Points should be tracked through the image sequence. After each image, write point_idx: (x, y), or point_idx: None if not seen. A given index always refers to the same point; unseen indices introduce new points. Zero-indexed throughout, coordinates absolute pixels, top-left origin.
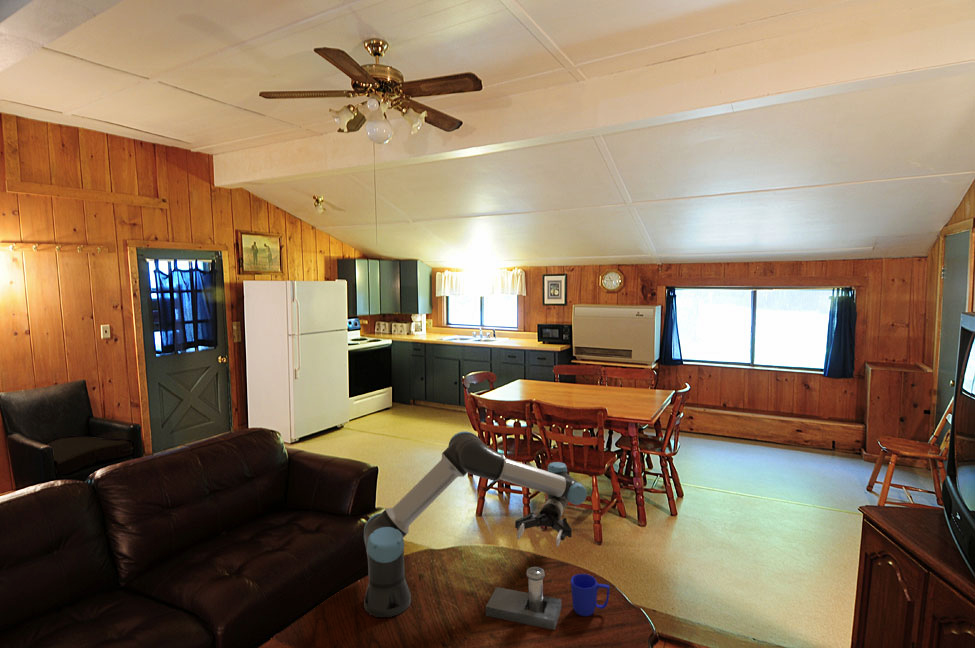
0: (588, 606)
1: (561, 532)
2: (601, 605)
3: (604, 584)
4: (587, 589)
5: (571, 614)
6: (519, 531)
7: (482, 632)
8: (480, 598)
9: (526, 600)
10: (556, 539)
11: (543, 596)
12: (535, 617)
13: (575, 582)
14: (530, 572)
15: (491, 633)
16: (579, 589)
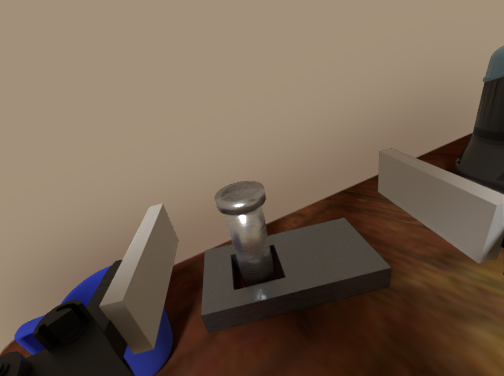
0: None
1: (119, 272)
2: None
3: (30, 327)
4: (104, 270)
5: (179, 323)
6: (383, 154)
7: (316, 212)
8: (407, 259)
9: (284, 266)
10: (164, 210)
11: (252, 299)
12: None
13: None
14: (250, 186)
15: (303, 216)
16: None
